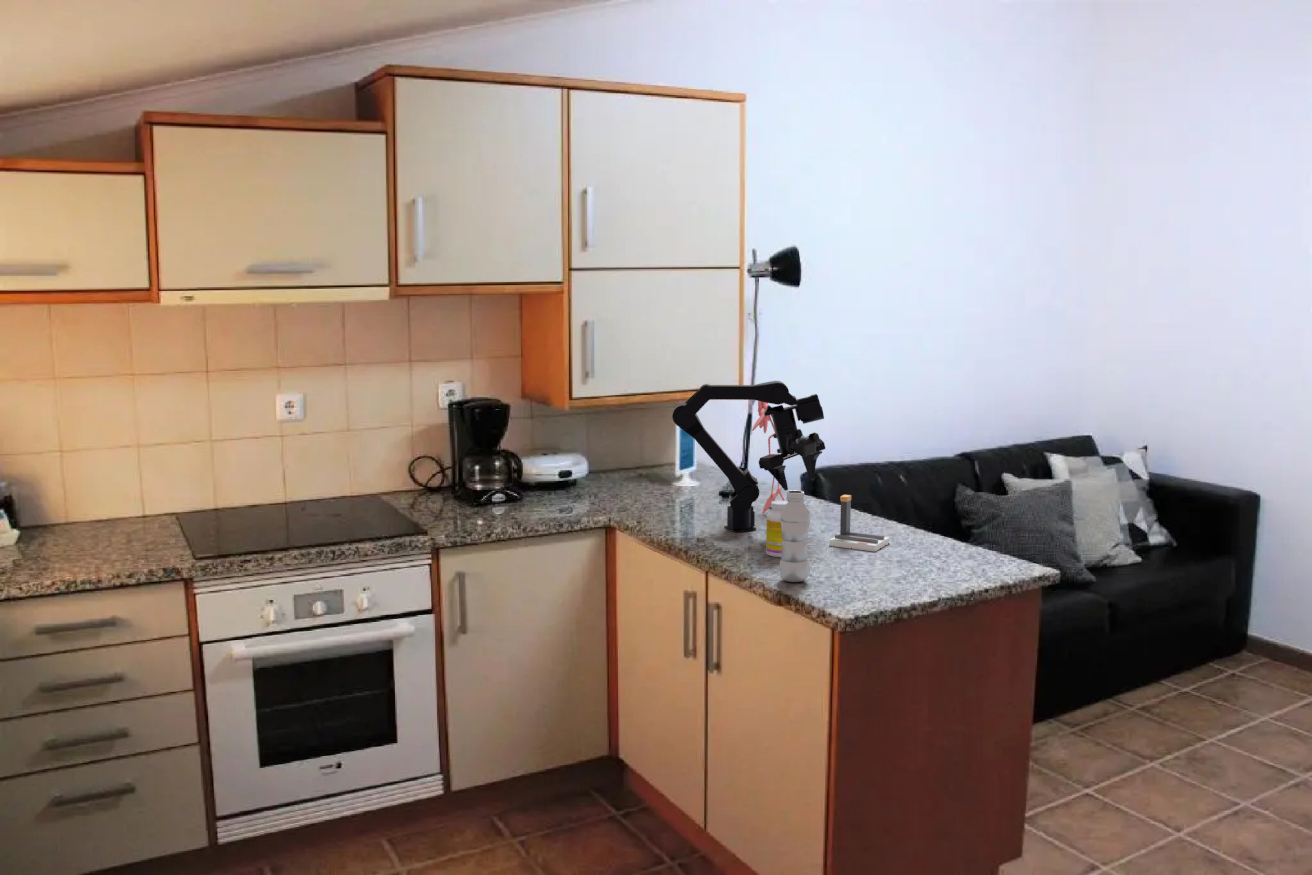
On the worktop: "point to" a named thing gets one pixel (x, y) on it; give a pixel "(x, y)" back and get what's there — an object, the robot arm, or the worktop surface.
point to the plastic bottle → (794, 538)
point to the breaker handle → (845, 514)
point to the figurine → (763, 422)
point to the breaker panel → (859, 541)
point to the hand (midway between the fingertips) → (799, 485)
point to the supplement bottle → (774, 529)
